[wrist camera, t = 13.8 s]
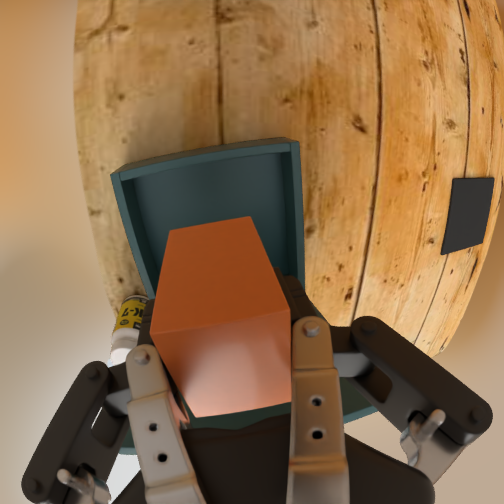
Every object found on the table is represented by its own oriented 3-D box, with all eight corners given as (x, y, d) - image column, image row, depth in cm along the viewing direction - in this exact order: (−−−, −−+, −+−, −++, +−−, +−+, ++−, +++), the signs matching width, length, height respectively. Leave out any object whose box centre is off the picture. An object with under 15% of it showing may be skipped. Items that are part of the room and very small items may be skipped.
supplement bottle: (161, 298, 31) (154, 351, 24) (156, 327, 33) (150, 379, 26) (122, 289, 30) (105, 340, 23) (120, 319, 32) (107, 370, 24)
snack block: (169, 229, 13) (148, 333, 7) (250, 215, 14) (290, 309, 8) (192, 311, 16) (195, 418, 10) (260, 298, 16) (292, 401, 10)
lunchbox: (123, 164, 24) (109, 174, 20) (285, 136, 25) (299, 141, 21) (161, 297, 31) (157, 322, 27) (293, 274, 33) (305, 296, 29)
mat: (452, 178, 30) (454, 179, 30) (493, 177, 31) (494, 178, 31) (440, 254, 36) (441, 255, 35) (481, 242, 37) (482, 243, 37)
